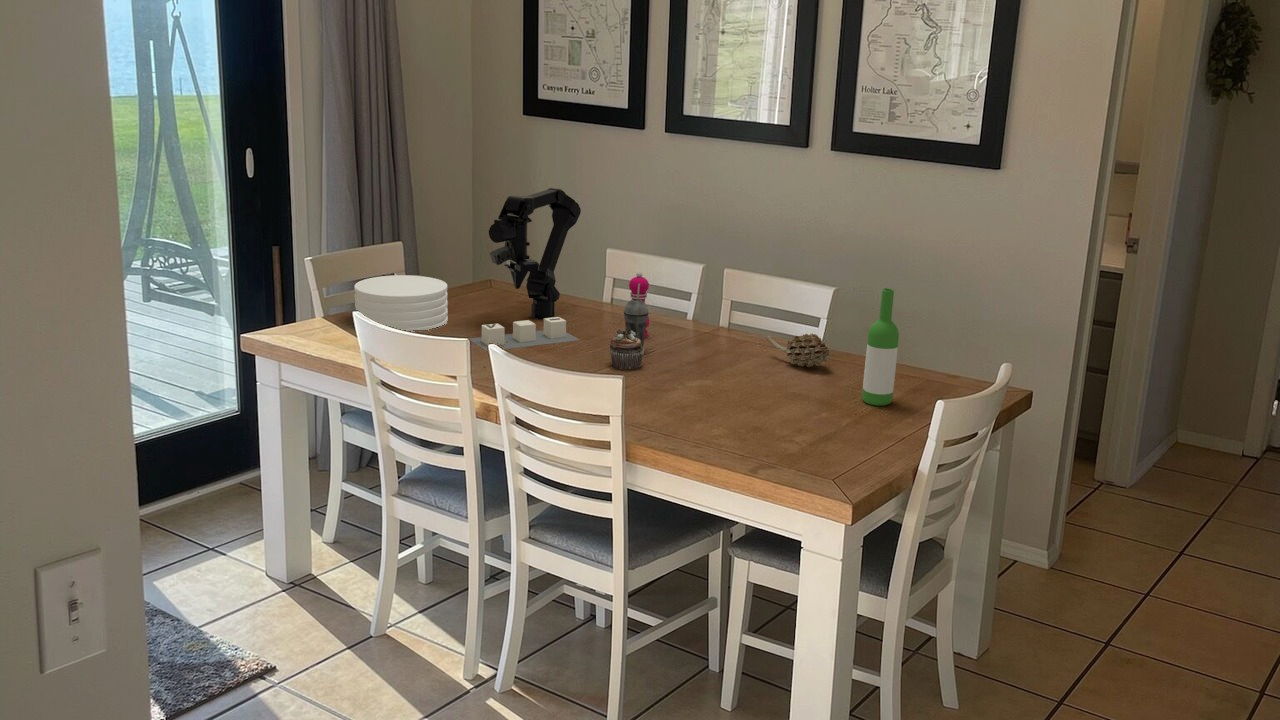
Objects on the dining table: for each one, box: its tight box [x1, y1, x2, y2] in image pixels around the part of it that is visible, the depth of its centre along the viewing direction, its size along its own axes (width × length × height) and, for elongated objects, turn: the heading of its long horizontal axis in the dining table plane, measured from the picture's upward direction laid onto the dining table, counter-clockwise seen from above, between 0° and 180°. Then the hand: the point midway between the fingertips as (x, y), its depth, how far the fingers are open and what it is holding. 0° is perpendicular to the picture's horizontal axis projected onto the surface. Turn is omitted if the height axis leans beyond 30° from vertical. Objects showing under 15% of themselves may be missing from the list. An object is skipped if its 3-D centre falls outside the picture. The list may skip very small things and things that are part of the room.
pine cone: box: [767, 333, 831, 368], centre depth 329 cm, size 22×10×10 cm, turn 50°
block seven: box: [481, 323, 506, 345], centre depth 336 cm, size 5×5×5 cm
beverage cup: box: [623, 284, 650, 348], centre depth 333 cm, size 7×7×20 cm
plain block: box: [512, 319, 537, 342], centre depth 341 cm, size 5×5×5 cm
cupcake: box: [609, 329, 645, 370], centre depth 321 cm, size 10×10×10 cm
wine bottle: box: [861, 287, 900, 407], centre depth 296 cm, size 8×8×30 cm
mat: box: [469, 329, 580, 352], centre depth 341 cm, size 30×14×1 cm, turn 121°
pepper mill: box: [628, 271, 650, 339], centre depth 349 cm, size 7×7×20 cm
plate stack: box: [353, 274, 449, 333], centre depth 357 cm, size 28×28×12 cm
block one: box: [543, 316, 567, 339], centre depth 346 cm, size 5×5×5 cm
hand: (517, 288), depth 354 cm, fingers closed
